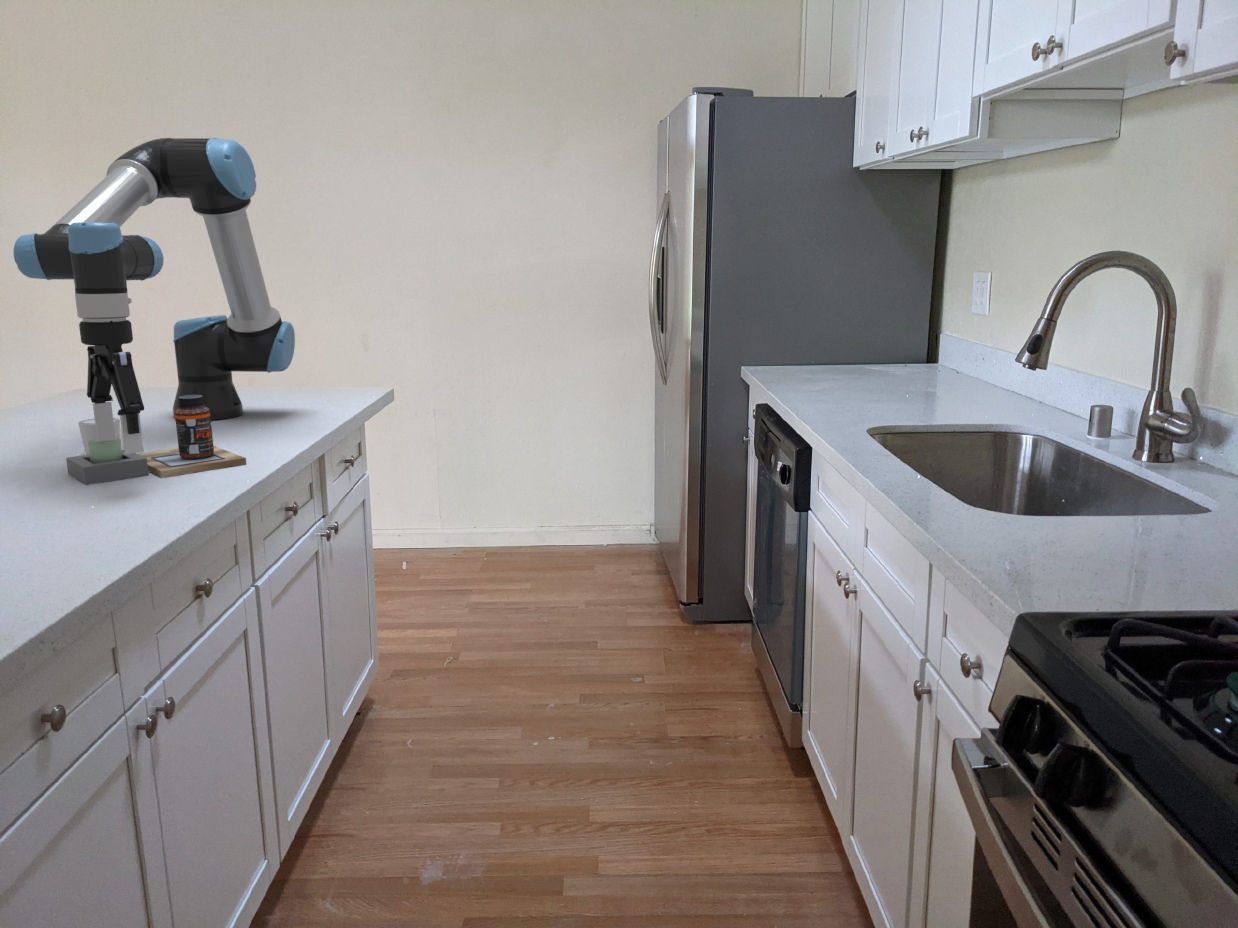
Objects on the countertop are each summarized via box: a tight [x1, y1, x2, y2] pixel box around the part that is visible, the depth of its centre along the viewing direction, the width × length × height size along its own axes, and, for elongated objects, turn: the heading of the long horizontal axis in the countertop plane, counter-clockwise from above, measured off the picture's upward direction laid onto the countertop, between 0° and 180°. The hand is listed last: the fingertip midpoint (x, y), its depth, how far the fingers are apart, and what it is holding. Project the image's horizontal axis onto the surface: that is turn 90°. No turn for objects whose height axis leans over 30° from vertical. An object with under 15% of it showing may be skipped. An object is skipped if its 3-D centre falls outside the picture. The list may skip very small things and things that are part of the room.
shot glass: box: [77, 417, 121, 455], centre depth 176 cm, size 7×7×7 cm
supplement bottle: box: [174, 395, 215, 459], centre depth 170 cm, size 6×6×11 cm
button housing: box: [65, 449, 149, 486], centre depth 162 cm, size 10×10×3 cm
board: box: [137, 445, 247, 478], centre depth 172 cm, size 17×15×1 cm
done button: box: [88, 438, 123, 464], centre depth 162 cm, size 5×5×5 cm
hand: (119, 446), depth 156 cm, fingers open, 13 cm apart
